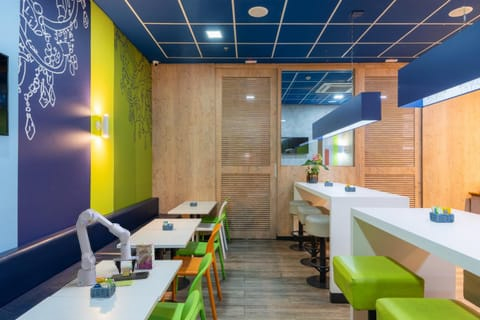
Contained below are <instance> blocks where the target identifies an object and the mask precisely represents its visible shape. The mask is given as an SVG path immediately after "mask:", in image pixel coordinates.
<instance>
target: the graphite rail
mask: <svg viewBox="0 0 480 320" xmlns="http://www.w3.org/2000/svg"><path fill="white" fill-rule="evenodd" d="M149 275H150V271H149V270H148V271H147V270H146V271H137V272H135V271H134V272H133V273H132V272H131V275H130V276H128V277H122V273H120V274H119V273H115V274H112V275H111V276H110V278H109V280H110V279H114V281H116V282H117V281H128V280H133V281H135V280H143V279H144V280H147V279H146V278H149Z"/></svg>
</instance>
